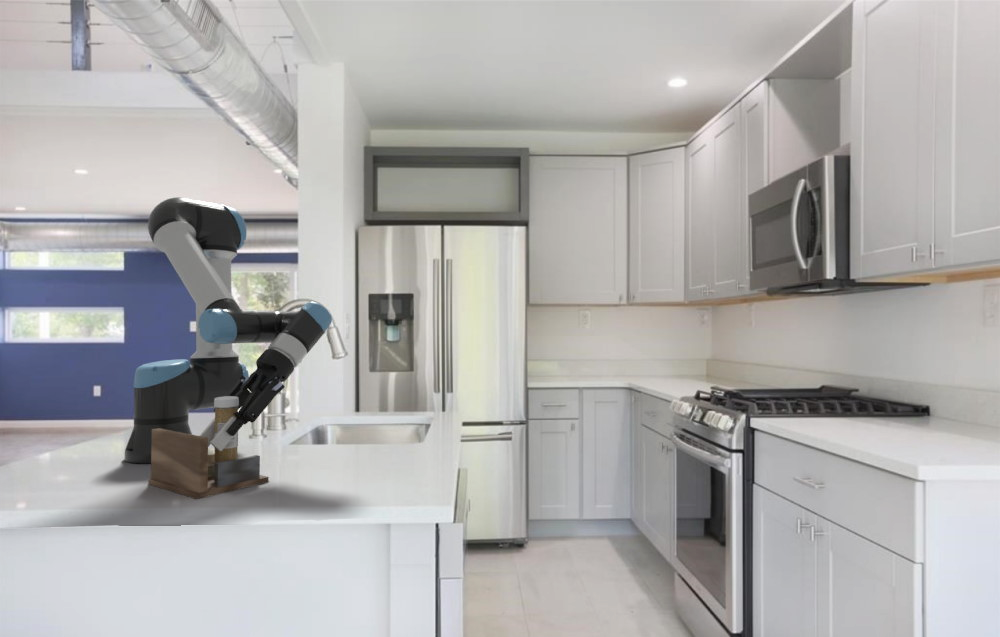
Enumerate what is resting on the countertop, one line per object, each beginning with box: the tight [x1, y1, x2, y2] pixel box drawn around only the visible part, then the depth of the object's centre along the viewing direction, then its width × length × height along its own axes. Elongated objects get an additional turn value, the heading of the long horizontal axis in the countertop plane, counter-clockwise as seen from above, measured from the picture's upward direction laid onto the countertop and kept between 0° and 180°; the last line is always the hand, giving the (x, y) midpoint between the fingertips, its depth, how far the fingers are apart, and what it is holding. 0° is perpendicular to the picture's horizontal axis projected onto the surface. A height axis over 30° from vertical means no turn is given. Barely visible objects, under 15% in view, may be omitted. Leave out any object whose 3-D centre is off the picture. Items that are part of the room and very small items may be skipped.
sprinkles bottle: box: [213, 396, 239, 464], centre depth 120 cm, size 5×5×14 cm
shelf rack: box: [147, 428, 269, 500], centre depth 121 cm, size 15×18×11 cm
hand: (208, 445), depth 117 cm, fingers closed on sprinkles bottle, 4 cm apart
